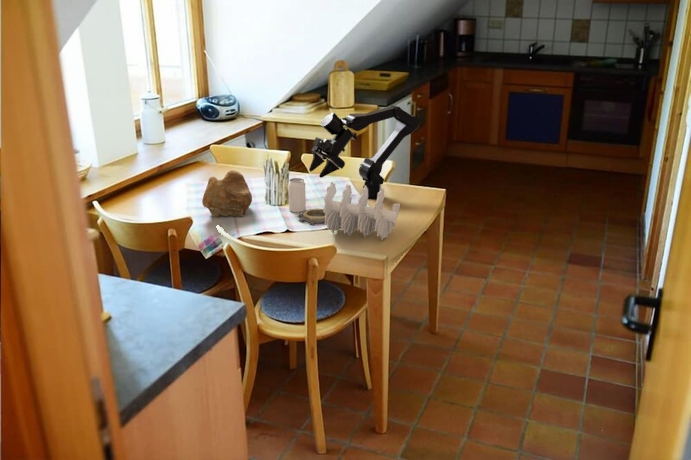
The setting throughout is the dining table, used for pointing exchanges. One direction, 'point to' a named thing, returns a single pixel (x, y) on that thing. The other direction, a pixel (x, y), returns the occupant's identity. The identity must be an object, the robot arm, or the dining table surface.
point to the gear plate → (313, 216)
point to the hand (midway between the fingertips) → (314, 174)
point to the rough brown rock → (227, 195)
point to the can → (297, 195)
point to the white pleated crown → (359, 213)
